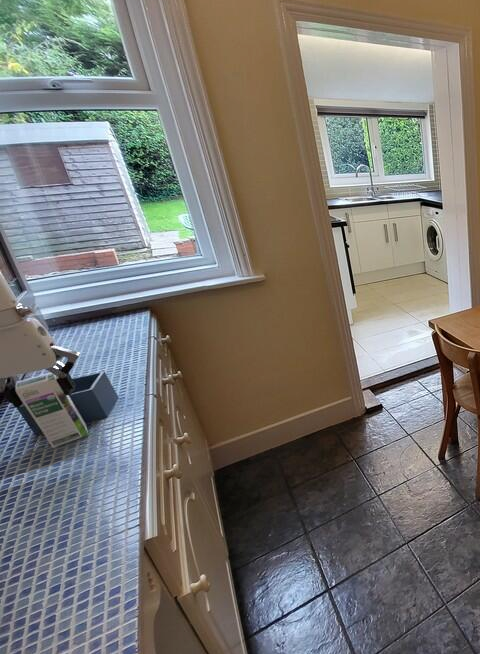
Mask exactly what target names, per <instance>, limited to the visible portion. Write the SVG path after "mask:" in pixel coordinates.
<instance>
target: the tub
mask: <svg viewBox="0 0 480 654" xmlns="http://www.w3.org/2000/svg"><path fill="white" fill-rule="evenodd" d="M71 378H72V377H71ZM72 379H73V381H74V383H75V385H76V387H75V390H74V391H73V392H72V394H71V395H69V397H70V398H71V400H72V402H73V403H74V405H75V407H76V409H77V410H78V412H79V414H80V415H81V417H82V419H83V420H84V422H85V424H87V423H91V422H94V421H98V420H102V419H106V418H108V417H109V415H110V413H111V412H110V411H112V410H113V408H114V406H115V405H116V403H117V401H118V399H119V396H118V394H117V392H116V390H115V388H114V386H113V384H112V382H111V381H110V379H109V377H108V375H107V374H106V371H105V370H102V371H98V372H94V373H90V374H89V373H88V374H85V375H81V376H76V377H73V378H72ZM112 407H113V408H112ZM16 409H17V411H18V412H19V414H20V415H21V417H22V418H23V420H24V421H25V424H27V426H28V428H29V429H30V430H31V432H32V433H33V434H34V436H35V437H37V436H41V435H42V436H43V435H44V433H43V432H42V430H41V429H40V427H39V426H38V424H37V423H36V421H35V420H34V418H33V417H32V415H31V414H30V412H29V411H28V410H27V408H26V407H25V405H24V404H22V405H21V406H20V407H17V408H16ZM111 409H112V410H111Z"/></svg>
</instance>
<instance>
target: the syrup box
mask: <svg viewBox="0 0 480 654" xmlns="http://www.w3.org/2000/svg"><path fill="white" fill-rule="evenodd" d="M57 379H58V377H57V376H56V375H54V374H53V373H51V372H49V371H48V372H47V373H43V374H39V375H36V376H33V377H28V378H25V379H22V380H18V381H16V382H15V384H16V386H15V391H16V393H17V395H18V396H19V398H20V399H21V401H22V402H23V404H24V405H25V407H26V408H27V410H28V411H29V412H30V414H31V415H32V417H33V418H34V420H35V421H36V423H37V424H38V426H39V427H40V429H41V430H42V432H43V433H44V434H43V435H44V437H45V438H46V440H47V441H48V443H49V444H50V446H51V448H52V449H56V448H58V447H60V446H62V445H66V444H69V443H72V442H73V441H74V442H75V441H76V440H79V439H82V438H86V437H88V436H89V431H88V426H87V423H85V422H84V420H83V419H82V417H81V415H80V414H79V412H78V410H77V409H76V407H75V405H74V403H73V402H72V400H71V398H70V397H69V395H65V394H64V392H63V390H62V389H61V387H60V386H59V384H58V382H57Z"/></svg>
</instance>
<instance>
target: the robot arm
mask: <svg viewBox="0 0 480 654" xmlns="http://www.w3.org/2000/svg"><path fill="white" fill-rule="evenodd" d="M35 313H36V311H35V308H34V307H33V306H29V307H27V306H25V307H24V306H23V304H22V303H20V302H19V299H18V298H17V296H16V295H15V293H14V291H13V290H12V288H11V286H10V285H9V283H8V281H7V280H6V278H5V276H4V275H3V273H2V270H0V392H1V393H2V395H3V396H4V398H5V399H6V401H7V402H8V403H9V404H12V405H13V407H14V408H16V409H17V407H20V406H21V405H22V404H23V402H22V401H21V399H20V398H19V396H18V395H17V393H16V391H15V386H16V383H12V378H13V377H16V376H22V375H26V374H30V373H34V372H39V371H45V370H46V371H48V373H49V372H51V373H53V374H54V375H56V376H57V377H58V379H57V382H58V384H59V386H60V387H61V389H62V390H63V392H64V394H65V395H71V394H72V392H73V391H74V390H75V387H76V385H75V383H74V381H73V379H72V376H71V374H70V372H71V370H72V369H73V368H74V366H75V365H76V363H77V361H78V360H79V358H80V357H81V353H80V352H78V351H75V350H71V349H67V348H65V347H61V346H59V345H58V343H57V342H56V341H55V339H54V337H53V336H52V335H51V334H50V332H49V331H48V329H46V327H44V325H43V324H42V323H41V322H40V321H39V320H38V319H37V318H36V317H33V316H32V317H29V316H30V315H33V314H35ZM63 358H66V359H67V360H66V362H65V364H64V363H62V362H60V360H62V359H63Z"/></svg>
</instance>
